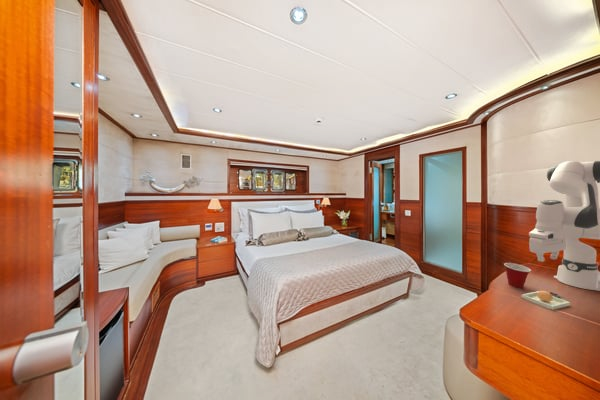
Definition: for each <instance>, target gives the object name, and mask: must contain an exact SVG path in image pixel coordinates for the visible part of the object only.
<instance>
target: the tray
mask: <svg viewBox="0 0 600 400" xmlns="http://www.w3.org/2000/svg"><path fill="white" fill-rule="evenodd" d="M539 291H540V290H537V291H532V292H527V293H523V294H521V295H520V296H521V297H520V298H521V299H524V300H526V301H528V302H531V303H533V304H535V305H539V306H541V307H543V308H546V309H547V310H551V311H554V310H558V309H562V308H566V307H571V302H570V301H567V300H564V299H563V298H562V299H559V298H556V297H554V296H553V300H552V301H550V302H545V301H542V300H541V299H539V298H538V296H537V293H538V292H539Z"/></svg>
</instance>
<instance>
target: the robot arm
mask: <svg viewBox="0 0 600 400" xmlns="http://www.w3.org/2000/svg"><path fill="white" fill-rule="evenodd" d="M546 171H547V172H546V179H547V181H549V186H550V188H551V189H552V190H553V191H556V192H557V193H560V194H563V195H565V205H564V203H563V201H561V200H555V199H545V200H540V201H539V202H538V204H537V208H536V211H535V219H536V223H535V228H534V229H532V230H531V231H529V232H528V237H529V243H528V245H529V252H531V253H534V254H536V257H537V262H545V261H546V259H545V257H544V255H545V254H546V253H547V254H548V253H551V254H550V256H549V259H550V260H557V259H558V256H559V254H560V251H563V257H562V259H561V264H560V265H558V268H557V273H556V275H553V278H554V279H556V280H557V281H558V282H560V283H562V284H565V285H568V286H571V287H575V288H579V289H585V290H590V291H597V292H600V270H599V266H600V262H597V249H595V247H593V246H591V245H589V244H586V243H584V242H582V241H580V240H579V239H581V238H582V239H591V240H600V203H599V202H600V201H599V188H598V185H597V184H600V160H595V161H584V162H580V161H574V160H572V161H571V160H570V161H564V162H562V163H559V164H558V165H557V166H552V167H550V168H549V169H547V170H546Z"/></svg>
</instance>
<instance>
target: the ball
mask: <svg viewBox="0 0 600 400" xmlns="http://www.w3.org/2000/svg"><path fill="white" fill-rule="evenodd" d="M538 291H539V292H538V293H537V296H538V298H539V299H541V300H542V301H545V302H550V301H552V300H553V296H552V295H551V294H550V293H549V291H547V290H538Z"/></svg>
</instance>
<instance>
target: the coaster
mask: <svg viewBox="0 0 600 400" xmlns="http://www.w3.org/2000/svg"><path fill="white" fill-rule="evenodd" d="M548 292H549V291H548ZM549 293H550V294H551V295H552V296H554V297H556V298H559V299H562V300H563V299H564V298H565V299H566V297H564V296H561V295H558V293H555V292H552V291H550V292H549Z"/></svg>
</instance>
